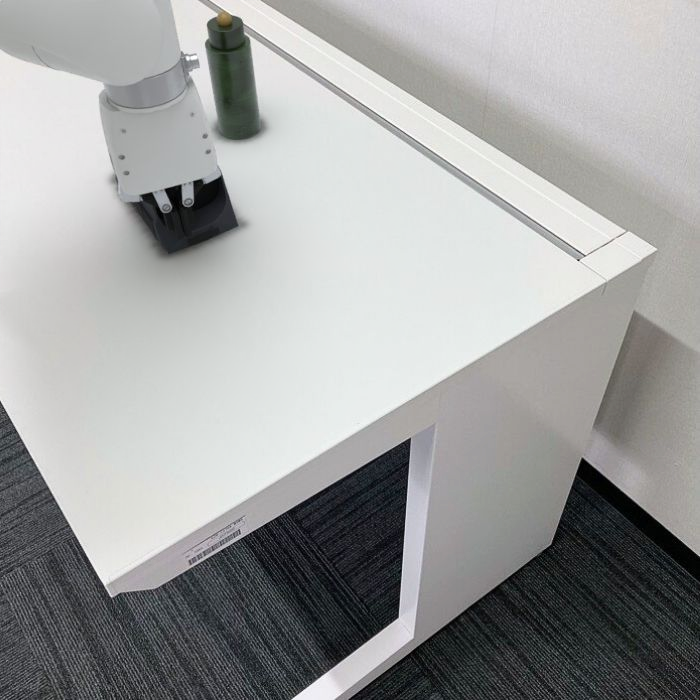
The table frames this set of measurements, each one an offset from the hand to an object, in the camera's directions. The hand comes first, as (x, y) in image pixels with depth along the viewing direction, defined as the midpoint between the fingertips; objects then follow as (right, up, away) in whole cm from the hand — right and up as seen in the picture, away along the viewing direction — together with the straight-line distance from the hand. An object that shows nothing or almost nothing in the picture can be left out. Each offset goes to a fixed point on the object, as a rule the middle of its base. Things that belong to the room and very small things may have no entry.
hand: (182, 231), depth 84 cm
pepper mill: (+4, +17, +19) cm, 25 cm away
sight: (-3, +5, +9) cm, 10 cm away
